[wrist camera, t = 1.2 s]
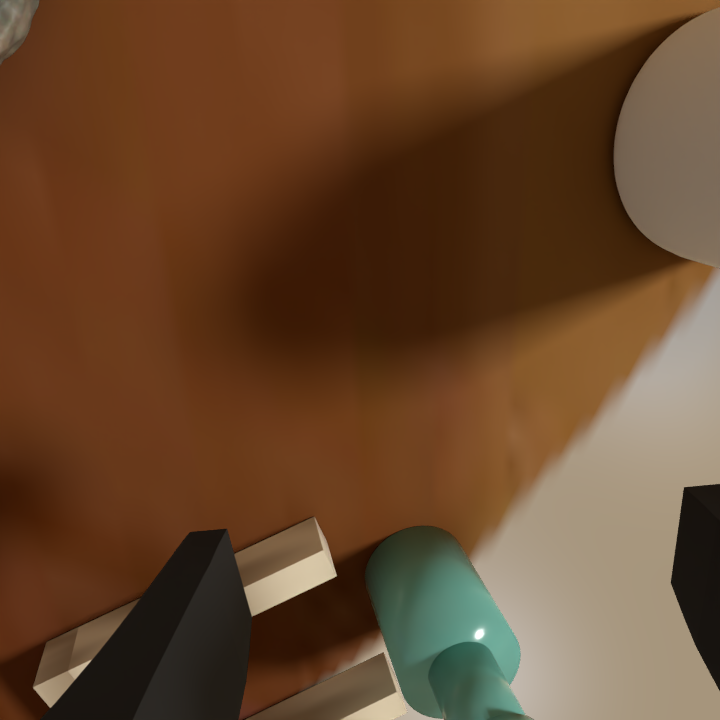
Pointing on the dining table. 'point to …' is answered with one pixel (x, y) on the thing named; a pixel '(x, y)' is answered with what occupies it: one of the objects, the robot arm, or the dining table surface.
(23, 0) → the grey rock slab
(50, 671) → the cradle
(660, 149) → the pill bottle
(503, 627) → the bottle
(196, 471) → the dining table surface
